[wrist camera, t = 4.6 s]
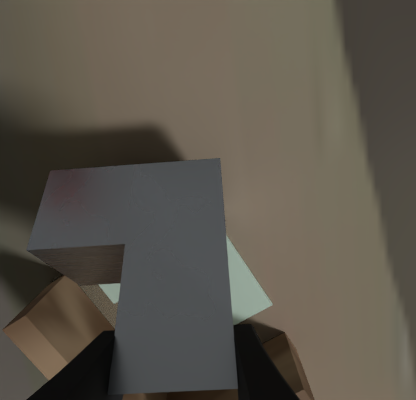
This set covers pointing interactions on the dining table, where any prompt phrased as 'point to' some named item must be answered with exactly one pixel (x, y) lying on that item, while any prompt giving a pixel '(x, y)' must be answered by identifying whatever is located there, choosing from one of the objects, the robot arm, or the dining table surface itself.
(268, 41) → the dining table surface
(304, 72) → the dining table surface
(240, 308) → the pose pad
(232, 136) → the dining table surface
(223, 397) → the corner fence
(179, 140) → the dining table surface
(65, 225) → the bracket
